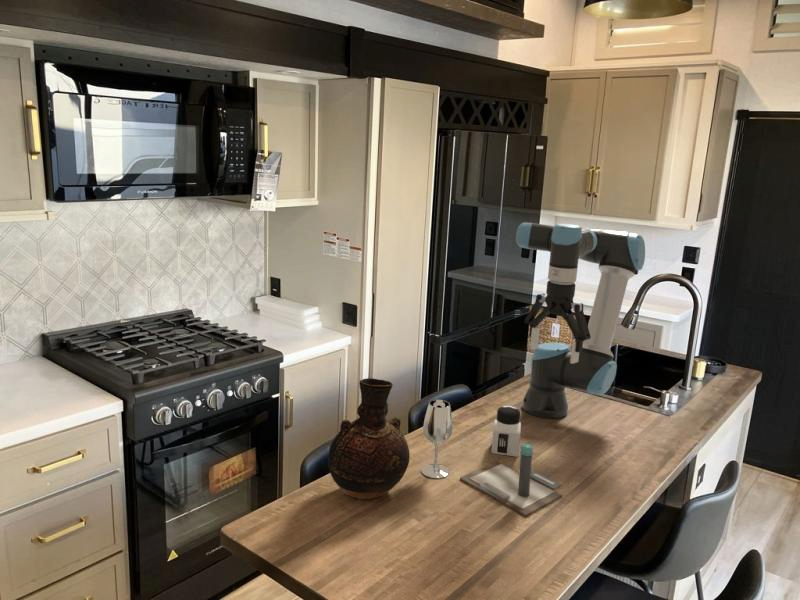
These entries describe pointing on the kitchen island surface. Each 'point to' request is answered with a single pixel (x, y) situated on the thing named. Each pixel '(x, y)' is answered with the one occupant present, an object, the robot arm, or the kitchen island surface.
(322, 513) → the kitchen island surface
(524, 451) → the marker
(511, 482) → the clipboard
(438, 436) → the wineglass
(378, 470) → the ceramic vessel
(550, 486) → the plate
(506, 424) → the container
